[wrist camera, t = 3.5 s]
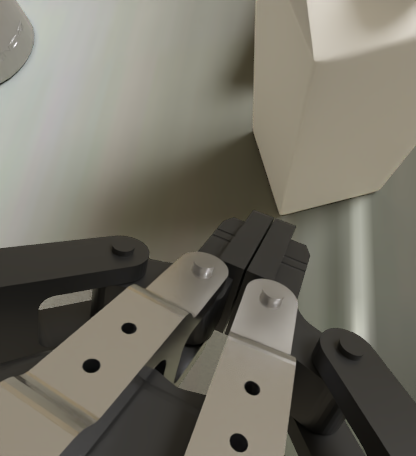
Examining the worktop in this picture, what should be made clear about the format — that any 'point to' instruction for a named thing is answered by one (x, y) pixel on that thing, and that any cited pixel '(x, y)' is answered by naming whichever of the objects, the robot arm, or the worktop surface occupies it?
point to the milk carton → (333, 96)
